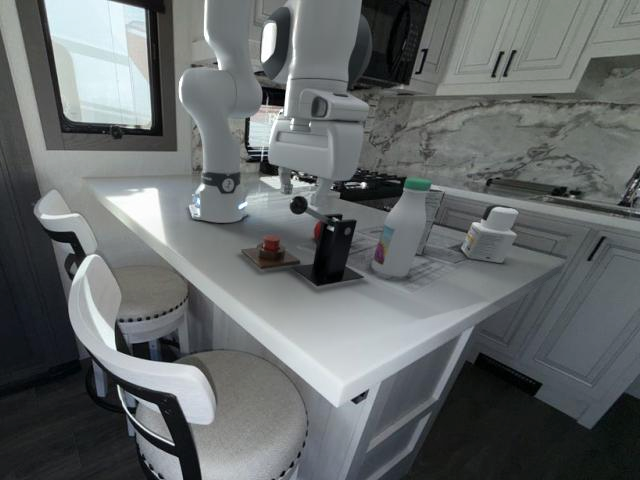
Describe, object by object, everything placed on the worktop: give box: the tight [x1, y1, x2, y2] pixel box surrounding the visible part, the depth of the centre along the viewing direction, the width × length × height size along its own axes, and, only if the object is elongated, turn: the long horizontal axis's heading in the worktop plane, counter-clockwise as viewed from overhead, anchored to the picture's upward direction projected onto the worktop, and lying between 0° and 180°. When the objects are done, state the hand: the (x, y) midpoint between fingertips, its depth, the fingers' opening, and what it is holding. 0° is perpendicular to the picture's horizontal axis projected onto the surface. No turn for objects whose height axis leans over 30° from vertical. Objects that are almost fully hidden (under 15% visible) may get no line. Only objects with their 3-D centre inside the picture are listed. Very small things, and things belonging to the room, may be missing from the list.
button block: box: [241, 242, 301, 270], centre depth 70 cm, size 10×10×4 cm
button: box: [262, 234, 281, 251], centre depth 69 cm, size 4×4×2 cm
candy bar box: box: [415, 183, 446, 256], centre depth 80 cm, size 11×5×16 cm, turn 168°
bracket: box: [292, 213, 365, 287], centre depth 62 cm, size 12×9×13 cm
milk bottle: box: [370, 177, 433, 278], centre depth 64 cm, size 8×8×20 cm
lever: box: [289, 195, 339, 231], centre depth 57 cm, size 14×3×3 cm, turn 115°
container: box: [460, 204, 520, 264], centre depth 78 cm, size 8×8×13 cm
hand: (300, 199), depth 53 cm, fingers open, 8 cm apart
